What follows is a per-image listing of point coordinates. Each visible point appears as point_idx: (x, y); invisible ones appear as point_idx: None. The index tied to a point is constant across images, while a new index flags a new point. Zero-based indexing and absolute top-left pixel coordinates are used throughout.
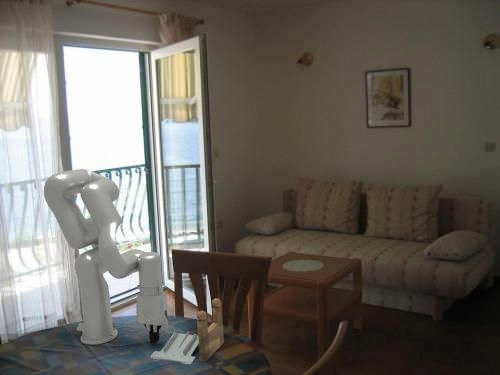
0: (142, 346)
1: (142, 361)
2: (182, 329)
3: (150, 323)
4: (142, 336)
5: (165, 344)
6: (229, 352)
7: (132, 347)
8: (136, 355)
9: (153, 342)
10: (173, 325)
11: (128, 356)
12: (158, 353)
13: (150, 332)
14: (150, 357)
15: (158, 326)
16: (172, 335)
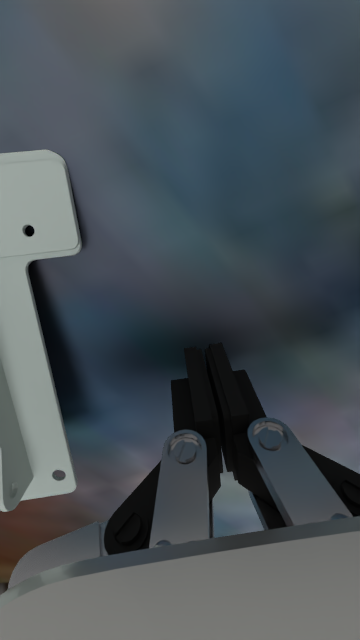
0: (271, 302)
1: (65, 21)
2: None
3: (227, 576)
4: (342, 399)
5: (46, 356)
6: None
7: (342, 258)
8: (226, 138)
9: (189, 351)
10: (239, 518)
11: (295, 78)
12: (13, 228)
13: (235, 415)
14: (59, 155)
15: (136, 528)
16: (65, 462)
